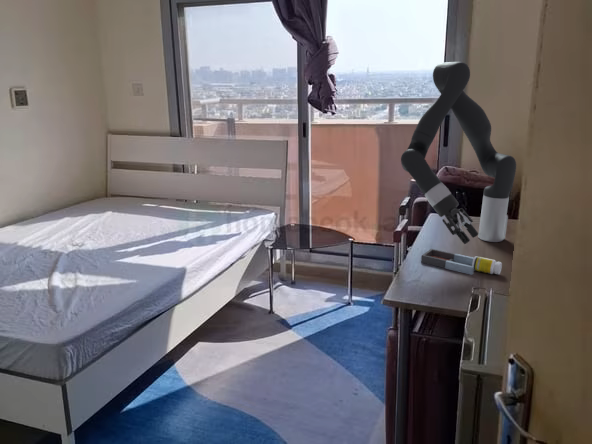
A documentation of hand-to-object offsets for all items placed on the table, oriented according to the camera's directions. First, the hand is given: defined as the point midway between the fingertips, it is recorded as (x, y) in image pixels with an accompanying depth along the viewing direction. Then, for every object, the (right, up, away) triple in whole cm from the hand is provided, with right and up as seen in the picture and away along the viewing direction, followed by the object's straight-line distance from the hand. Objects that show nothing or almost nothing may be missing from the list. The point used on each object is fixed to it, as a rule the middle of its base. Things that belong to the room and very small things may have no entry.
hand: (471, 239), depth 168 cm
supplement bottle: (+1, -8, +2) cm, 8 cm away
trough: (-2, -9, +4) cm, 11 cm away
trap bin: (-9, -8, +9) cm, 15 cm away
